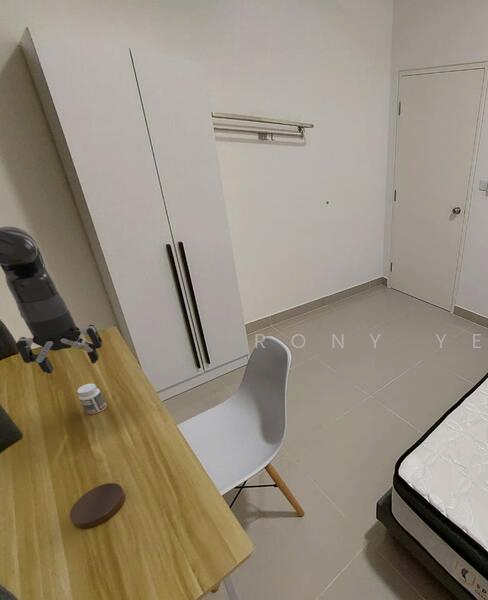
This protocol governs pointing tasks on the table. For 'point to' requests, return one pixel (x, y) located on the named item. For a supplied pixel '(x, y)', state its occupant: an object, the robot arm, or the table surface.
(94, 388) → the pill bottle
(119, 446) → the table surface
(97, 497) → the walnut disc
